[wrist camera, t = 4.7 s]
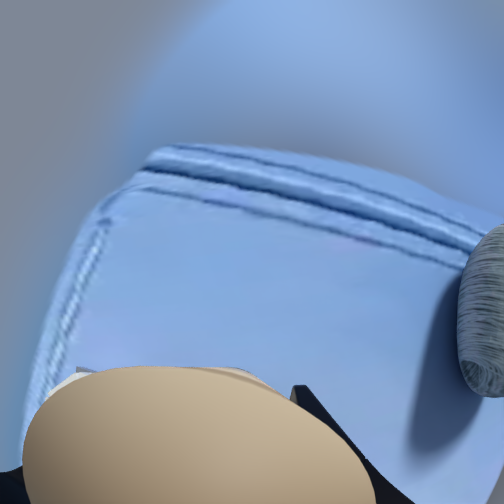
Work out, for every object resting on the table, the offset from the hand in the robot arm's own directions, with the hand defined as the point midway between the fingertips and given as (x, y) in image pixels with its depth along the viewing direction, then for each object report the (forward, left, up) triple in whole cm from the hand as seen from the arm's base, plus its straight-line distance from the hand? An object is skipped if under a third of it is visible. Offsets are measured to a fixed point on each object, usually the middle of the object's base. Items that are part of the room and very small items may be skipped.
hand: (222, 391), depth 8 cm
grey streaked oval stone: (+5, -20, -9) cm, 23 cm away
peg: (-1, 0, -7) cm, 7 cm away
